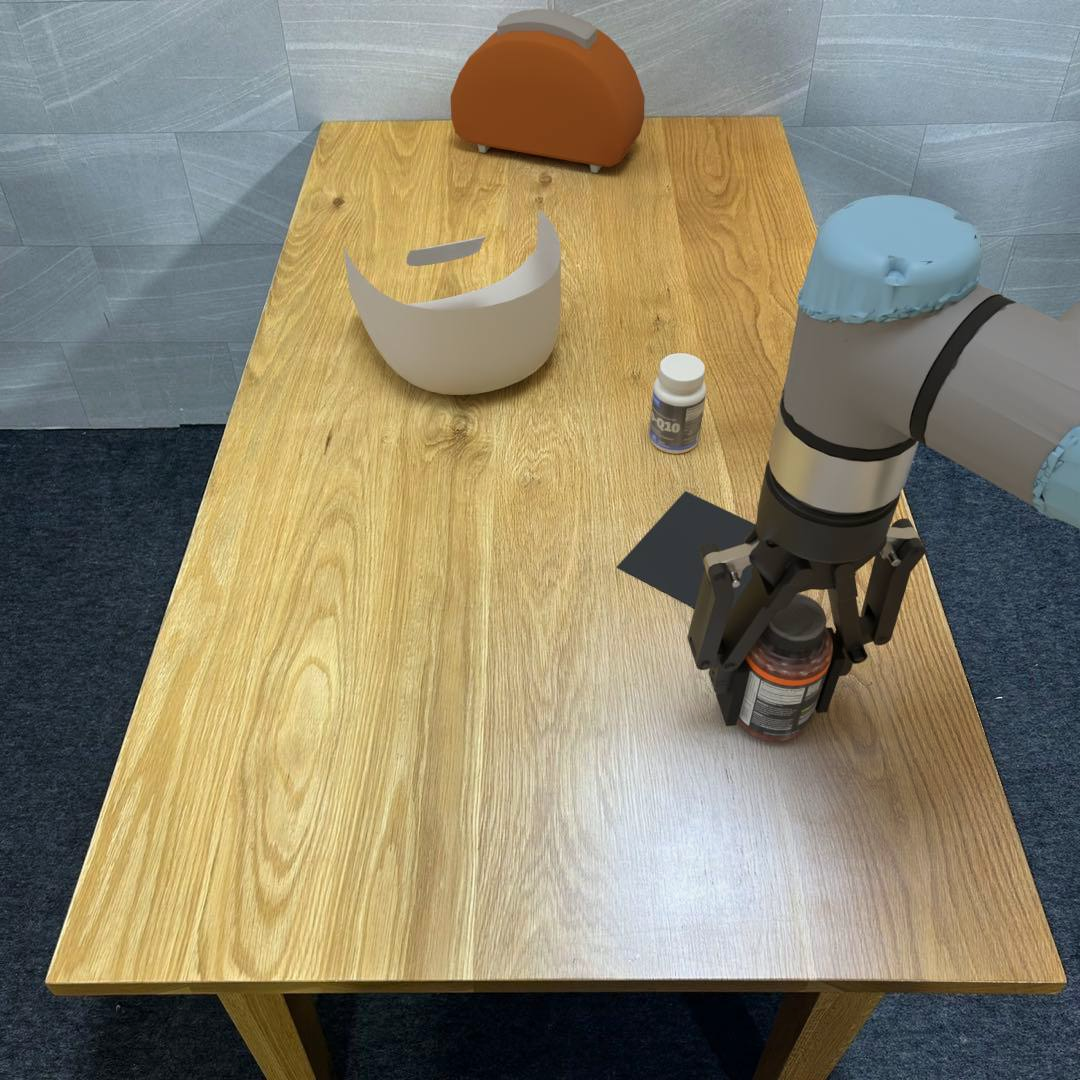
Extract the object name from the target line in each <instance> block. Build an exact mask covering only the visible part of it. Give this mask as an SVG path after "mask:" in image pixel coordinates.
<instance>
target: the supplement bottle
mask: <svg viewBox="0 0 1080 1080" xmlns="http://www.w3.org/2000/svg"><path fill="white" fill-rule="evenodd" d="M827 628H828V627H827V616H826V613H825V610H824V608H823V606H821V604H820V603H819V602H817V601H816V600H815V599H814V598H812V597H810V596H809V595H808V596H807V595H806V594H802V593H797V594H796V595H795V597H794V598H793V600H792V601H791V603H790V604H789V605H788V607H787V608H786V609H785V610H778V611H777V613H776V614H775V616H774V617H773V618H772V620H771V621H770V623H769V624H768V626H767V627H766V629H765V630H764V631H763V633H762V634H761V636H760V637H759V639H758V640H757V641H756V643H755V644H754V646H753V647H752V649H751V650H750V652H749V653H748V654H747V656H746V657H745V659H744V660H745V662H746V665H747V668H748V671H749V673H748V678H747V682H746V686H745V690H744V694H743V699H742V703H741V707H740V711H739V716H738V720H737V725H739V726H740V727H741V728H742V729H743V730H744V731H746V733H748V734H749V735H751V736H753V737H754V738H756V739H761V740H763V741H767V742H772V743H773V742H775V743H776V742H787V741H789V740H792V739H794V738H797V737H799V736H800V735H801V734H802V733H804V731H806V729H807V728H808V726H810V725H809V724H810V723H811V721H812V719H813V716H814V713H815V711H816V710H815V707H816V704H817V701H818V698H819V696H820V692H821V689H822V686H823V683H824V680H825V677H826V674H827V671H828V668H829V665H830V661H831V658H832V652H833V642H832V638H831V635H830V632H829V630H828V629H827Z"/></svg>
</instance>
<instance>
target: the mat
mask: <svg viewBox="0 0 1080 1080" xmlns="http://www.w3.org/2000/svg"><path fill="white" fill-rule="evenodd" d="M755 525H756V523H754V522H751V521H750V520H748V519H745V518H743V517H741V516H739V515H737V514H735V513H733V512H730V511H728V510H727V509H724V508H723V507H721V506H718V505H716V504H714V503H712V502H710V501H708V500H706V499H703V498H701V497H699V496H698V495H695V494H693V493H691V492H688V491H687V490H684V492H683V493H682V494H681V495H680V496H679V497H678V498H677V500H676V501H674V502H673V504H672V505H671V506H670V507H669V508H668V510H666V512H665V513H664V514H663V515H661V517H660V518H659V519H658V521H656V522H655V524H654V525H653V526H652V527H651V528H650V529H649V530H648V532H647V533H646V534H645V535H644V536H643V537H642V538H640V540H639V541H638V543H637V544H635V545H634V547H633V548H632V549H631V550H630V551H629V553H628V554H627V555H626V556H625V557H624V558H623V559H622V560H621V561H620V563H619V564H618V565H616V568H617V569H619V570H620V571H623V572H625V573H626V574H628V575H630V576H632V577H634V578H636V579H638V580H639V581H641V582H644V583H645V584H647V585H649V586H651V587H653V588H654V589H656V590H659V591H661V592H662V593H664V594H667V595H668V596H670V597H672V598H674V599H676V600H677V601H680V603H681V602H682V603H684V604H685V605H687V606H689V607H691V608H693V609H695V605H696V601H697V598H698V594H699V590H700V586H701V582H702V578H703V574H704V571H705V567H704V563H703V560H702V556H701V553H700V550H701V548H702V547H703V546H704V545H706V544H708V543H716V544H718V545H719V547H720V549H721V551H723V550H726V549H729V548H732V547H736V546H739V545H742V544H744V541H745V538H746V536H747V535H748V534H749V532H750V531H751V530H752V529H753V528H754V526H755ZM752 567H753V565H752V564H751V565H749V566H747V567H746V568H745V569H744V570H743V572H742V576H741V577H740V578H739V580H740V583H741V584H740V585H739V586H738V587H733V589H734V598H733V602H732V606H731V609H732V607H733V606H734V604H735V603H736V601H737V600H738V598H739V596H740V595H741V593H742V592H743V590H744V589H745V587H746V586H747V584H748V583H749V581H750V579H751V576H752ZM731 609H730V610H731Z"/></svg>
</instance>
